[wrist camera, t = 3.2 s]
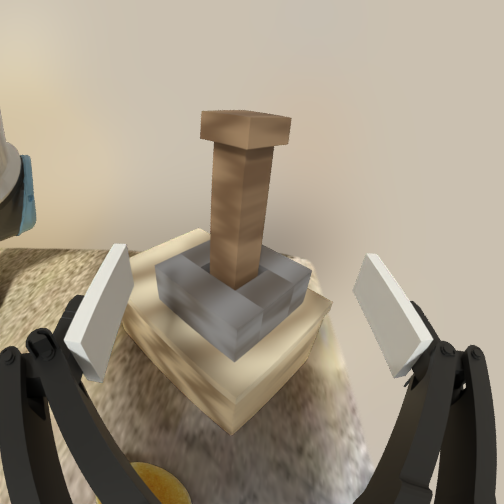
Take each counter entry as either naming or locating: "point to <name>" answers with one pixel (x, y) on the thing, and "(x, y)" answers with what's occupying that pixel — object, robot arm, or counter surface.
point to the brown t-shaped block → (240, 188)
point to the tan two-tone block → (222, 326)
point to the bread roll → (161, 484)
